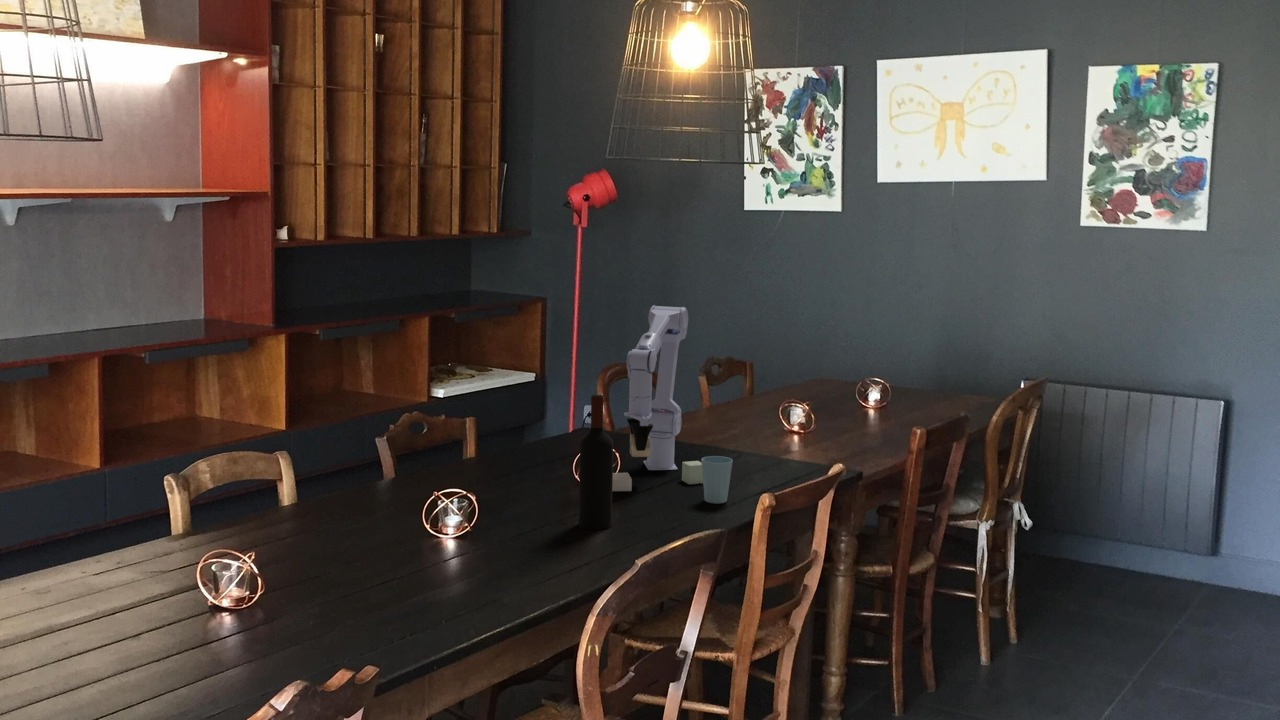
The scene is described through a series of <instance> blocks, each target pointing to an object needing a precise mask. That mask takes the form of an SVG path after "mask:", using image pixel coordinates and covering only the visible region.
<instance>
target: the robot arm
mask: <svg viewBox="0 0 1280 720" xmlns="http://www.w3.org/2000/svg"><path fill="white" fill-rule="evenodd" d="M647 319H648V325H649V329H648V331H647V332H645V333H644V334H643V335H641V337H640V339H639V341H638V343H637V345H636V346H635V348H632V349H631V350H629V351H628V353H627V357H626V369H627V378H628V379H629V385H628V386H629V387H628V388H629V390H628V391H629V394H628V412H627V411H626V412H624V413H623V415H624V417H629V418H626V421H627V423H628V427H629V429H630V434H634V437H635V445H636V450H637V451H645V448H646V444H647V440H648V436H649V437H650V457H646V460H643V464H644V465H645V467H646V469H647V470H648V471H677V470H678V467H677V466H676V464H675V444H676V443H675V439H676V436H678V434H680V432H681V429H682V421H683V419H682V409H681V406H679V405H678V404H677V402H675V400H673V397H674V390H675V381H676V371H677V363H678V354H679V348H680V343H681V341H682V340H684V339H686V336H687V333H688V325H689V311H688V309H687V308H686V306H679V307H678V306H663V305H661V306H660V305H659V306H658V305H655V304H654V305H652V306H651V307H650V309H649V312H648V318H647ZM659 352H660V354H659ZM658 354H659V363H658V371H657V372H658V373H657V380H656V388H655V398H654V399H653V398H652V393H653V392H652V391H653V372H654V371H655V368H656V364H657V358H658V357H657V355H658Z"/></svg>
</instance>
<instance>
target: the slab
mask: <svg viewBox="0 0 1280 720" xmlns="http://www.w3.org/2000/svg"><path fill="white" fill-rule="evenodd" d="M615 473H616V474H615ZM632 485H633V479H632V477H631V476H630V474H629V472H613V487H612V492H632V491H633V490H632Z"/></svg>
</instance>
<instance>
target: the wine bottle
mask: <svg viewBox="0 0 1280 720" xmlns="http://www.w3.org/2000/svg"><path fill="white" fill-rule="evenodd" d="M604 397H605V396H604V395H603V394H591V398H590V404H591V405H590V430H589V431H588V432H587V433H586V434H584V436H582V438H581V440H580V443H579V473H578V474H579V475H578V476H579V482H578V483H579V485H578V487H579V490H578V495H579V496H578V527H579V528H581V529H585V530H589V531H591V530H592V531H599V530H601V531H602V530H603V531H604V530H606V529H610V528H611V527H612V526H613V524H612V523H613V491H612V487H613V473H614V441H613V438H611V436H610V435H609V434H608V433H606V431H605V429H604V403H605V401H604V400H605V398H604Z"/></svg>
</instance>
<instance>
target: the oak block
mask: <svg viewBox="0 0 1280 720" xmlns="http://www.w3.org/2000/svg"><path fill="white" fill-rule="evenodd" d="M629 454H630V455H631V457H632V458H645V457H646V458H647V457H650V437H649V436H648V440H647V444H646V448H645V451H637V450H636V445H635V437H634V434H631V433H630V434H629Z"/></svg>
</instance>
